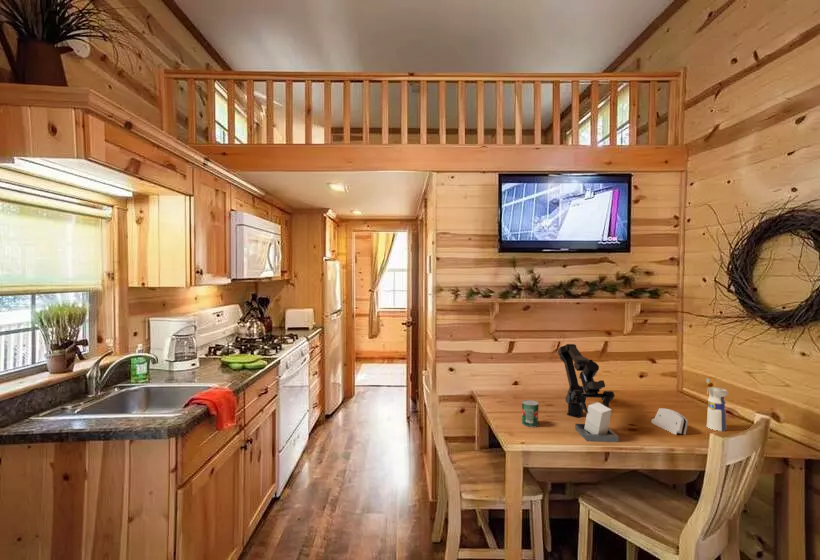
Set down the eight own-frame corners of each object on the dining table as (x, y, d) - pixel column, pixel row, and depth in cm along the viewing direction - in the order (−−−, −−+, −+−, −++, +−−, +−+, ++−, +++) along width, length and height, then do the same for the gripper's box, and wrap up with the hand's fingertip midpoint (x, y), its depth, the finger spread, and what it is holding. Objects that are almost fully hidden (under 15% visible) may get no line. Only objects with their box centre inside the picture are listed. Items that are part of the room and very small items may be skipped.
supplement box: (607, 433, 179) (612, 409, 176) (597, 438, 175) (602, 413, 172) (593, 425, 185) (598, 401, 182) (583, 428, 182) (587, 404, 178)
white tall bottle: (719, 432, 184) (720, 380, 184) (701, 426, 192) (702, 376, 192) (732, 430, 186) (732, 379, 186) (713, 424, 194) (714, 374, 194)
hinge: (650, 422, 197) (656, 403, 197) (658, 425, 197) (664, 406, 198) (676, 435, 180) (682, 415, 180) (684, 438, 181) (691, 418, 181)
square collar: (575, 428, 187) (575, 423, 187) (604, 429, 186) (604, 424, 186) (586, 440, 173) (586, 435, 173) (618, 442, 172) (618, 436, 172)
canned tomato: (519, 421, 197) (519, 400, 197) (534, 421, 197) (534, 399, 197) (525, 427, 189) (525, 405, 189) (541, 427, 189) (541, 404, 189)
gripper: (573, 373, 184) (581, 404, 173) (613, 374, 183) (624, 405, 172) (567, 385, 192) (574, 415, 181) (605, 385, 191) (615, 416, 180)
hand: (597, 412), depth 179 cm, fingers closed on supplement box, 9 cm apart
